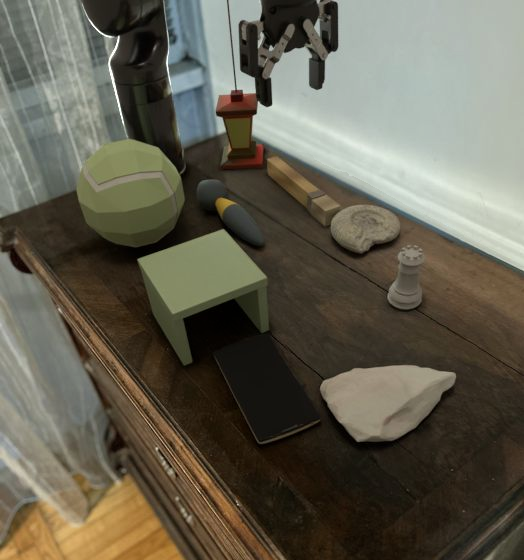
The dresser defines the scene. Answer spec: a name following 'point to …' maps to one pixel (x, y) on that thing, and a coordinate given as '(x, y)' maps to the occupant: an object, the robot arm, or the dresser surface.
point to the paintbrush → (229, 211)
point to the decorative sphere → (130, 193)
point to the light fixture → (239, 126)
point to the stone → (384, 399)
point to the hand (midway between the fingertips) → (291, 96)
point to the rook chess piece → (407, 280)
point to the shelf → (202, 284)
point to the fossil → (364, 227)
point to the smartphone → (266, 389)
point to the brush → (303, 191)
